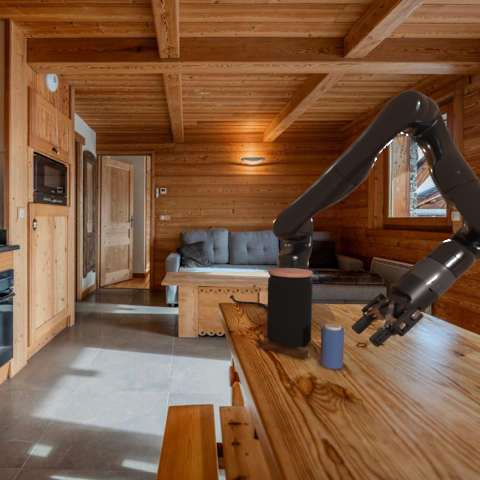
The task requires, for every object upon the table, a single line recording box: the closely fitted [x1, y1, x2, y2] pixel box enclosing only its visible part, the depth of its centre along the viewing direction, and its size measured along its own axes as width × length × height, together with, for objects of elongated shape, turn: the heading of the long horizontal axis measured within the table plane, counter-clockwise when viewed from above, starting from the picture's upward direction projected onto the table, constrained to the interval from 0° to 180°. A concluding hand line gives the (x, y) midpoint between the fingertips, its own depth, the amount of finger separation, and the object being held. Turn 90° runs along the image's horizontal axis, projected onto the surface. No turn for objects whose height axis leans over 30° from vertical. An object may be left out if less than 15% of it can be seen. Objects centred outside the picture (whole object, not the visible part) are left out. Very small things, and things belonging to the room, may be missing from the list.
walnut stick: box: [258, 339, 309, 360], centre depth 90 cm, size 11×2×2 cm, turn 46°
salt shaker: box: [319, 323, 345, 370], centre depth 82 cm, size 4×4×8 cm
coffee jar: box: [266, 267, 314, 348], centre depth 97 cm, size 11×11×18 cm
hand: (363, 337), depth 81 cm, fingers open, 8 cm apart
